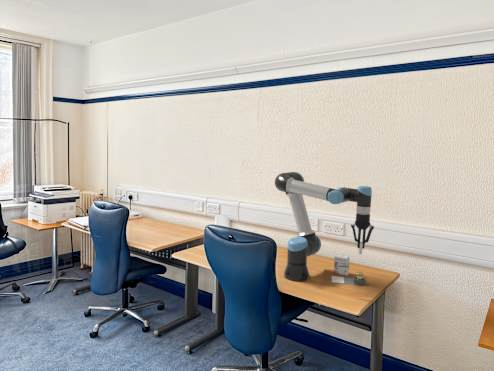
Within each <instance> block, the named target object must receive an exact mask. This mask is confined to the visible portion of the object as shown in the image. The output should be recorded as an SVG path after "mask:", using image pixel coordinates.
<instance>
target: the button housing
mask: <svg viewBox="0 0 494 371" xmlns="http://www.w3.org/2000/svg"><path fill="white" fill-rule="evenodd" d="M353 278H354V285H355V286H364V285H365V286H366V278H365V276H363V280H360V279H356V275H354V276H353Z"/></svg>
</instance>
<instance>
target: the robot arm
mask: <svg viewBox="0 0 494 371" xmlns="http://www.w3.org/2000/svg"><path fill="white" fill-rule="evenodd" d="M274 186H275V187H276V189H277V190H278V191H280V192H282V193H283V192H284V193H285V196H287V197H288V198H289V199H288V200H289V202H290V207H291V209H292V214H293V218H294V222H295V225H296V229H297V232H298V234H297V236H296V237H295V236H294V237H291V238H289V240H288V241H287V261H286V263H287V264H286V267H285V269H284V271H283V272H284V273H283V277H284V278H285V279H287V280H290V281H295V282H300V281H301V282H303V281H307V280H308V279H309V278H310V272H309V269H308V266H307V265H308V263H307V261H308V257H310V256H313V255H316V254H317V253H319V251H320V250H321V248H322V242H321V239H320V237H319V236H318V235H317V234H316V232H315V231H314V230H313V229H312V226H311V222H310V219H309V215H308V214H309V213H308V212H307V208H306V204H305V200H304V196H307V197H311V198H315V199H319V200H322V201H326V202H329V203H330V204H331V205H339V204H343V203H346V202H353V203H356V214H355V221H354V223H350V227H351V229H352V233H353V238H354V242H356V243H357V245H356V246H357V249H358V255H363V250H364V249H365V245H366V243H369V240H370V238H371V234H372V232H373V231H374V229H375V226H374V225H372V224H371V222H370V220H371V215H370V214H371V207H372V206H371V205H372V196H373V194H372V192H373V190H372V187H371V186H368V185H359V186H358V187H357V188H350V187H345V186H344V187H342V186H341V187H339V188H337V189H336V188H331V187H328V186H323V185H319V184H313V183H312V182H311V183H310V182H306V181H305V178H304V177H303V175H302V174H301V173H299V172H296V171H289V172H281V173H279V174H277V176H276V177H275V180H274ZM356 228H357V232H358V233H356ZM368 228H369V229H368ZM367 229H368V232H366V231H367ZM366 233H367V234H366ZM357 234H358V235H357ZM361 238H362V241H361Z"/></svg>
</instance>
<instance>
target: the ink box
mask: <svg viewBox="0 0 494 371" xmlns="http://www.w3.org/2000/svg"><path fill="white" fill-rule="evenodd" d="M333 260H334V261H333V274H336V275H341V276H348V275H349V273H350V256H348V255H341V254H336V255H334V259H333Z"/></svg>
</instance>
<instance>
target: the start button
mask: <svg viewBox="0 0 494 371" xmlns="http://www.w3.org/2000/svg"><path fill="white" fill-rule="evenodd" d="M364 275H365V273H364V272H363V271H356V272H355V276H356V279H360V280H363V277H364Z"/></svg>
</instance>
